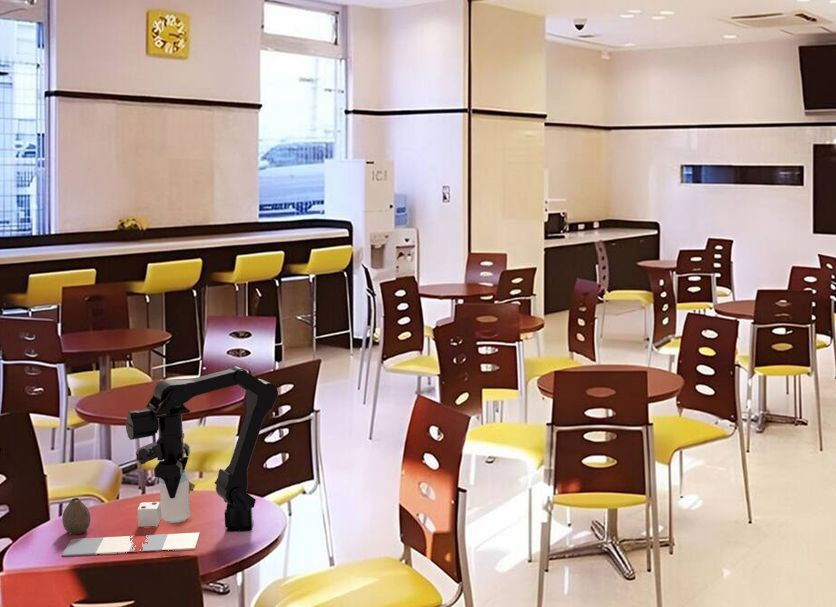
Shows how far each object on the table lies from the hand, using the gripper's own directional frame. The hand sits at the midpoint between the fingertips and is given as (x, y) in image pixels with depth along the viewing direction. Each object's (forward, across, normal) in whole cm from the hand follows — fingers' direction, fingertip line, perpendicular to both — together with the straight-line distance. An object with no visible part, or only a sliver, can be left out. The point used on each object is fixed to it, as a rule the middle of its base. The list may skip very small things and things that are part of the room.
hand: (174, 492), depth 257 cm
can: (+7, 0, 0) cm, 7 cm away
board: (+13, 0, -11) cm, 17 cm away
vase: (+13, -11, -27) cm, 32 cm away
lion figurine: (+13, -27, -4) cm, 30 cm away
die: (+13, -14, -9) cm, 21 cm away
